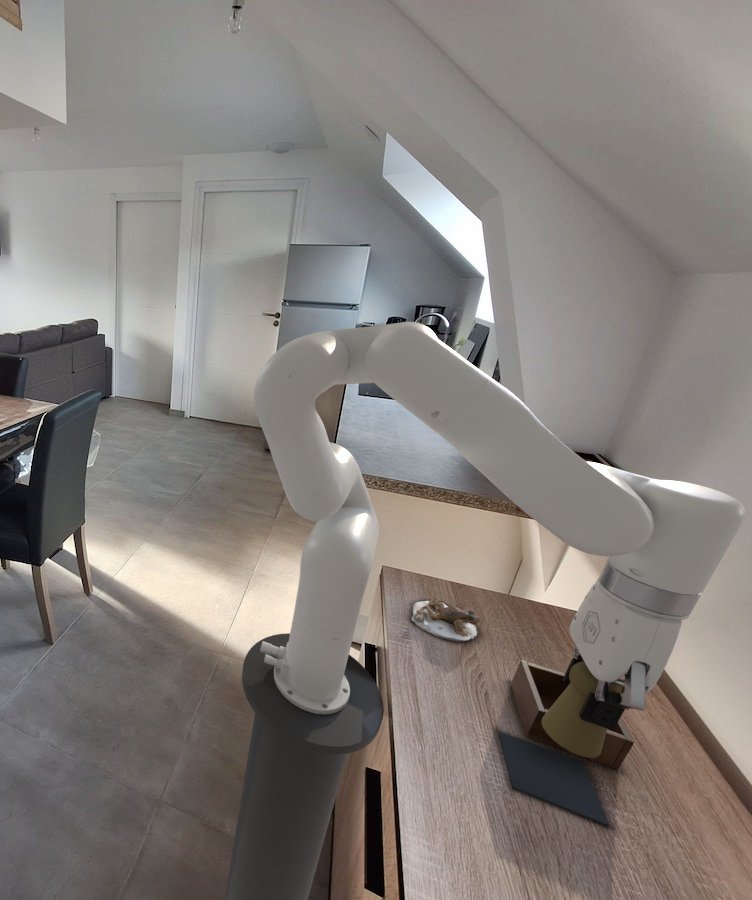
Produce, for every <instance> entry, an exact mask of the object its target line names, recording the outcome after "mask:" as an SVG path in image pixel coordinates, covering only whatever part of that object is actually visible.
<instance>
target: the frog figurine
mask: <svg viewBox="0 0 752 900" xmlns="http://www.w3.org/2000/svg"><path fill="white" fill-rule="evenodd" d="M410 620H411V622H412V623H414V624H415V625H416V626H417V627H418V628H420V629H422V630H423V631H425V632H427V633H429V634H431V635H432V636H435V637H437V638H441V639H445V640H448V641H452V642H465V641H470V640H472V639H474V638H476V637H477V636H478V635H477V634H478V631H477V626H476V625H477V624H478V623H480V621H481V619H480V617H478V616H477V615H476V614H475V611H473V610H466V609H461V608H460V607H457V606H454V605H453V606H448V605H446V604H445V603H444V601H443V600H437V598H436V597H434V598H432V599H430V600H422V601H416V602H414V603H413V604H412V616H411V618H410Z"/></svg>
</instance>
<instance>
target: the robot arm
mask: <svg viewBox="0 0 752 900" xmlns="http://www.w3.org/2000/svg"><path fill="white" fill-rule="evenodd" d="M354 384H356V385H359V384H360V385H361V384H375V385H376V386H377V388H379V389H381V390H382V392H384V393H385V394H387V395H388V396H389V397H390V398H392V399H393V400H394V401H395V402H397V403H398V404H399V405H401V406H402V407H403V408H405V409H406V410H407V411H408V412H410V413H411V414H412V415H413V416H415V417H416V418H417V419H419V420H420V421H421V422H423V424H424V425H426V426H428V428H430V429H432V430H433V431H434V432H435V433H436V434H438V435H439V436H440V437H441V438H443V439H444V440H445V441H447V443H449V444H450V445H451V446H452V447H454V448H455V449H456V450H457V452H458V453H459V454H460V455H461V456H462V457H463V458H464V459H466V461H467V462H468V463H470V464H471V465H472V466H473V467H474V468H475V469H476V470H478V471H479V472H480V473H481V474H482V475H483V476H484V477H485V478H487V479H488V480H489V482H490V483H491V484H492V485H494V486H495V487H496V488H497V489H498V490H499V491H500V492H501V493H502V494H503V495H505V496H506V497H507V499H509V500H510V501H511V502H513V503H514V504H515V505H516V506H517V507H518V508H519V509H521V511H523V512H524V513H525V514H526V515H528V516H529V517H530V518H532V519H533V520H534V521H535V522H537V523H538V524H539V525H540V526H542V527H543V528H544V529H546V530H547V531H549V532H550V533H551V534H552V535H553V536H555V537H556V538H557V539H559V540H560V541H561V542H563V543H565V544H566V545H568V546H569V547H571V548H573V549H576V550H578V551H580V552H582V553H586V554H588V555H593V556H598V557H607V559H606V561H605V563H604V565H603V567H602V570H601V572H600V575H598V576H599V577H598V578H597V579H596V580H595V582H594V583H593V584H592V586H591V588H590V589H589V590H588V591H587V593H586V595H585V597H584V599H583V600H582V602H581V604H580V605H579V607H578V609H577V611H576V613H575V615H574V616H573V619H572V621H571V622H570V625H569V634H570V637H571V638H572V641H573V643H574V645H575V647H574V649H573V657H572V659H571V660H570V663H569V665H568V667H567V669H566V671H565V675H564V677H563V680H564V682H565V683H566V684H568V685H569V684H570V683H571V682H570V679H569V673H570V670H571V668H572V666H574V665H575V664H577V663H579V662H585V664H586V665H587V667H588V669H589V670H590V672H591V673H592V675H593V676H594V677H595V678H596V679H598V683H597V687H596V691H595V693H591V692H590V693H589V695H588V697H587V699H586V701H585V703H584V705H583V707H582V709H581V711H580V713H579V716H580V718H581V720H583V721H586V722H589V723H592V724H595V725H598V726H601V727H604V728H607V729H614V728H615V726H616V725H617V723H618V721H619V719H620V717H621V718H622V716H623V714H624V712H625V711H626V710H627V711H628V710H630V709H634V710H638V711H645V710H646V694H647V693H648V692H650V691H651V690H652V689H653V688H654V687H655V685H657V683H658V681H659V680H660V678H661V676H662V674H663V672H664V670H665V669H666V667H667V665H668V662H669V659H670V658H671V655H672V653H673V651H674V647H675V645H676V643H677V640H678V637H679V634H680V630H681V628H682V624H683V622H682V621H685V620H688V619H689V618H690V616H691V614H692V612H693V610H694V608H695V607H696V605H697V603H698V602H699V600H700V598H701V596H702V594H703V593H704V591H705V589H706V587H707V585H708V584H709V582H710V580H711V578H712V577H713V575H714V573H715V571H716V569H717V568H718V566H719V565H720V563H721V561H722V559H723V557H724V556H725V554H726V552H727V550H728V549H729V548H730V545H731V543H732V542H733V540H734V538H735V536H736V535H737V533H738V532H739V530H740V528H741V526H742V524H743V522H744V520H745V519H746V509H745V506H744V505H743V503H742V502H740V501H739V500H738V499H737V498H735V497H734V496H731V495H729V494H727V493H725V492H722V491H721V490H717V489H715V488H714V489H713V488H710V487H708V486H705V485H704V486H703V485H700V484H695V483H691V482H687V481H679V480H667V479H656V478H651V477H648V476H644V475H641V474H637V473H634V472H630V471H626V470H623V469H619V468H616V467H613V466H609V465H606V464H602V463H598V462H593V461H587V460H585V459H584V458H582V457H581V456H580V455H578V454H577V453H576V452H575V451H574V450H572V449H571V448H570V447H568V446H567V445H566V444H565V443H564V442H563V441H561V440H560V439H559V438H558V437H557V436H556V435H555V434H554V433H552V431H550V430H549V428H547V427H546V426H545V425H544V424H543V423H542V421H540V420H539V418H538V417H537V416H536V415H535V414H534V413H533V411H532V410H531V409H530V408H529V407H528V406H527V405H526V404H525V403H524V402H523V401H522V400H521V399H520V398H519V397H518V396H517V395H516V394H514V392H512V391H511V390H509V389H508V388H506V387H505V386H503V385H502V384H501V383H499V382H498V381H496V380H495V379H494V378H492V377H491V376H490V375H488V374H487V373H485V372H483V371H482V370H481V369H480V368H478V367H477V366H475V365H474V364H472V363H471V362H470V361H468V360H467V359H466V358H464V357H463V356H462V355H460V354H459V353H458V352H456V351H455V350H454V349H452V348H451V347H450V346H449V345H447V344H446V343H444V342H443V341H441V340H440V339H439V338H438V336H437V335H436V333H435V332H434V331H433V330H432V329H431V328H430V327H429V326H426V324H423V323H421V322H415V321H401V322H396V323H387V324H381V325H380V324H379V325H370V326H361V327H350V328H341V329H331V330H330V329H329V330H321V331H316V332H312V333H310V334H306V335H302V336H299V337H297V338H295V339H292V340H290V341H288V342H287V343H285V344H284V345H283V346H281V347H280V348H279V349H277V350H276V351H275V352H274V354H272V356H270V358H269V359H268V360H267V361H266V363H265V364H264V366H262V368H261V370H260V372H259V373H258V376H257V378H256V382H255V384H254V390H253V404H254V409H255V414H256V416H257V419H258V422H259V424H260V427H261V429H262V432H263V435H264V437H265V440H266V442H267V445H268V448H269V451H270V454H271V457H272V461H273V463H274V465H275V468H276V472H277V474H278V476H279V479H280V482H281V485H282V487H283V490H284V494H285V497H286V499H287V501H288V503H289V505H290V506H291V508H292V509H293V510H294V512H295V513H296V514H297V515H299V516H300V517H302V518H304V519H306V520H309V521H313V522H316V523H315V525H314V527H313V528H312V530H311V532H310V533H309V535H308V537H307V540H306V542H305V544H304V546H303V549H302V553H301V557H300V564H299V565H300V567H299V578H298V579H299V580H298V586H297V592H296V598H295V605H294V608H293V614H292V621H291V627H290V632H289V633H290V636H289V642H287V645H286V647H283V646H280V648H279V647H276V646H273V645H272V644H270V643H267V642H264V641H263V642H262V645H261V649H260V652H262V653H265V654H268V655H265V659H264V662H265V663H267V664H270V665H274V666H275V667H274V680H275V683H276V685H277V687H278V689H279V690H280V692H281V693H282V695H283V696H284V697H285V698H286V699H287V700H289V701H290V702H291V703H292V704H294V705H295V706H297V707H299V708H301V709H303V710H305V711H308V712H311V713H315V714H332V713H336V712H338V711H340V710H342V709H343V708H344V707H345V706H346V704H347V702H348V699H349V695H350V687H349V683H348V681H347V679H346V677H345V675H344V672H345V668H346V664H347V660H348V656H349V655H350V651H351V647H352V644H353V639H354V636H355V632H356V628H357V623H358V618H359V615H360V611H361V607H362V603H363V599H364V595H365V592H366V588H367V584H368V581H369V578H370V574H371V571H372V566H373V562H374V557H375V556H376V555H375V554H376V548H377V544H378V542H379V537H380V524H379V520H378V516H377V513H376V510H375V508H374V505H373V503H372V500H371V496H370V494H369V491H368V488H367V485H366V483H365V480H364V477H363V474H362V472H361V468H360V466H359V464H358V462H357V460H356V458H355V457H354V456H353V455H352V453H351V452H350V451H349V450H348V449H347V448H345V447H344V446H342V445H339V444H337V443H336V442H335V443H334V442H330V440H329V436H328V433H327V430H326V427H325V424H324V422H323V421H322V419H321V416H320V415H319V413H318V411H317V409H316V400H317V399H318V397H319V396H320V395H322V394H323V393H325V392H327V390H329V389H331V388H332V387H334V386H336V385H354ZM269 655H272V656H275V657H278V658H277V659H276V658H273V657H271V656H269ZM622 677H624V678H622ZM610 683H611V684H615V685H618V686H621V687H622V691H621V693H617V692H608V688H609V685H610Z"/></svg>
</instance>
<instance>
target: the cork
mask: <svg viewBox="0 0 752 900" xmlns="http://www.w3.org/2000/svg"><path fill="white" fill-rule="evenodd" d="M569 679H570V682H571V683H570V684H569V685H568V687H567V688H566V689H565V690H564V692H563V693H562V694H561V695H560V697H559V698H558V699H557V700H556V702H555V703H554V704H553V705H552V707H551V708H550V709H549V710H548V712H547V713H546V714H545V715H544V717H543V718H542V721H541V722H542V726H543V728H544V730H545V731H546V733H547V734H548V735H549V736H550V737H551V738H552V739H553V740H554V741H555V742H557V743H558V744H559V745H561V746H562V747H563V748H565V749H567V750H569V751H570V752H569V753H571V752H572V753H571V754H573V753H575V754H574V755H576V754H577V755H576V756H579V755H580V756H579V757H582V756H584V757H589V758H593V757H597V756H599V755H600V754H601V751H602V747H603V743H604V740H605V736H606V732H607V728H604V727H601V726H598V725H595V724H592V723H589V722H586V721H583V720H581V718H580V716H579V713H580V711H581V709H582V707H583V705H584V703H585V701H586V699H587V697H588V695H589V693H590V692H591V693H595V691H596V687H597V683H598V679H596V678H595V677H594V676H593V675H592V673H591V672H590V670H589V669H588V667H587V665H586V664H585V662H579V663H577V664H575V665H574V666H572V668H571V670H570V673H569ZM621 691H622V687H621V686H618V685H615V684H611V683H610V685H609V688H608V692H617V693H621ZM584 757H583V758H584Z"/></svg>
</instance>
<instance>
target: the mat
mask: <svg viewBox="0 0 752 900" xmlns="http://www.w3.org/2000/svg"><path fill="white" fill-rule="evenodd" d="M498 735H499V739H500V744H501V747H502V751H503V755H504V759H505V763H506V767H507V771H508V774H509V779H510V784H511V787H512V789H514V790H516V791H519V792H521V793H523V794H525V795H528V796H531V797H533V798H536V799H539V800H541V801H543V802H546V803H549V804H551V805H554V806H555V807H558V808H561V809H563V810H566V811H568V812H571V813H573V814H576V815H578V816H581V817H583V818H586V819H589V820H591V821H593V822H595V823H598V824H601V825H604V826H606V827H610V822H609V820H608V818H607V815H606V813H605V811H604V808H603V806H602V804H601V803H602V802H601V801H600V798H599V796H598V794H597V791H596V789H595V787H594V784H593V781H592V779H591V777H590V774H589V772H588V770H587V767H586V765H585V763H584V761H581V760H579V759H576V758H573V757H571V756H568V755H565V754H562V753H560V752H558V751H554V750H551V749H549V748H547V747H543V746H540V745H537V744H535V743H533V742H530V741H527V740H524V739H522V738H519V737H516V736H513V735H510V734H507V733H504V732H502V731H498Z"/></svg>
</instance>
